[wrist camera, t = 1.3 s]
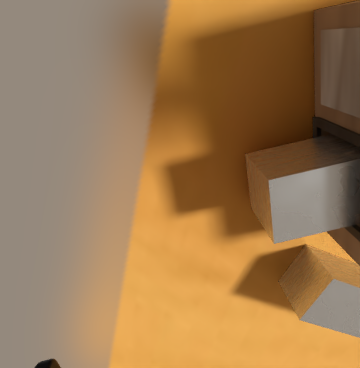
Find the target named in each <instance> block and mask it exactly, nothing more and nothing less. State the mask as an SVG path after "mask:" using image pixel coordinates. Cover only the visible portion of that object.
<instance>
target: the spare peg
mask: <svg viewBox="0 0 360 368" xmlns="http://www.w3.org/2000/svg"><path fill="white" fill-rule="evenodd" d="M278 282H279V284H280V286H281V288H282V289H283V291H284V293H285V295H286V297H287V298H288V300H289V302H290V304H291V306H292V307H293V309H294V311H295V313H296V314H297V316H298V318H299V320H301V321H305V322H308V323H312V324H315V325H318V326H322V327H325V328H329V329H332V330H335V331H339V332H342V333H346V334H349V335H352V336H356V337H359V338H360V266H359V265H358V264H356V263H354V262H351V261H349V260H346V259H343V258H341V257H338V256H336V255H333V254H330V253H328V252H325V251H323V250H320V249H317V248H315V247H312V246H309V245H307V244H306V245H305V246H304V247H303V249H302V250H301V251H300V253H299V254H298V255H297V257H296V258H295V259H294V261H293V262H292V263H291V265H290V266H289V268H288V269H287V270H286V272H285V273H284V274H283V276H282V277H281V278H280V280H279V281H278Z"/></svg>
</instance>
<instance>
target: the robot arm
mask: <svg viewBox="0 0 360 368" xmlns="http://www.w3.org/2000/svg"><path fill="white" fill-rule="evenodd" d="M35 368H61V367H60V366H59V364H58V362H57V361H56V360H55V359H49V360H45V361H41V362H40V363H38V364H37V365H36V366H35Z"/></svg>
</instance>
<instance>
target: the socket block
mask: <svg viewBox="0 0 360 368" xmlns="http://www.w3.org/2000/svg"><path fill="white" fill-rule="evenodd" d="M314 79H315V117H313V138H316V137H320V136H324V135H329V134H333V135H335V136H337V137H339V138H341V139H343V140H345V141H347V142H349V143H351V144H353V145H355V146H357V147H359V148H360V0H357V1H353V2H348V3H344V4H340V5H335V6H331V7H326V8H322V9H318V10H314ZM327 233H328V234H329V235H330V236H331V237H332V238H333V239H334V240H335V241H336V242H337V243H338V244H339V245H340V246H341V247H342V248H343V249H344V250H345V251H346V252H347V253H348V254H349V255H350V256H351V257H352V259H353V260H354V261H355V262H356V263H357V264H358V265H359V266H360V224H356V225H352V226H347V227H343V228H339V229H335V230H330V231H327Z"/></svg>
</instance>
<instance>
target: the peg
mask: <svg viewBox="0 0 360 368" xmlns="http://www.w3.org/2000/svg"><path fill="white" fill-rule="evenodd" d="M245 159H246V168H247V176H248V185H249V193H250V201H251V209H252V210H253V212H254V213H255V215H256V217H257V218H258V220H259V221H260V223H261V224H262V226H263V227H264V229H265V231H266V232H267V234H268V235H269V237H270V238H271V240H272V241H273V243H274V244H275V243H279V242H284V241H288V240H292V239H296V238H301V237H305V236H309V235H313V234H318V233H322V232H326V231H330V230H335V229H339V228H343V227H347V226H352V225H356V224H360V148H359V147H357V146H355V145H353V144H351V143H349V142H347V141H345V140H343V139H341V138H339V137H337V136H335V135H333V134H329V135H324V136H320V137H316V138H311V139H307V140H303V141H298V142H294V143H290V144H286V145H281V146H277V147H273V148H268V149H264V150H260V151H255V152H251V153H247V154H245Z"/></svg>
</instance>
